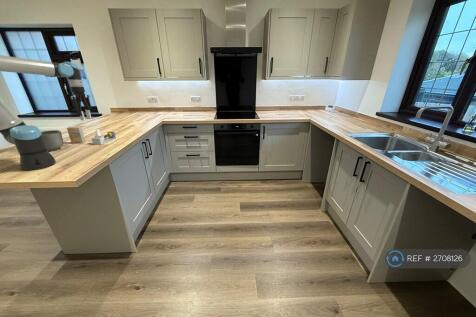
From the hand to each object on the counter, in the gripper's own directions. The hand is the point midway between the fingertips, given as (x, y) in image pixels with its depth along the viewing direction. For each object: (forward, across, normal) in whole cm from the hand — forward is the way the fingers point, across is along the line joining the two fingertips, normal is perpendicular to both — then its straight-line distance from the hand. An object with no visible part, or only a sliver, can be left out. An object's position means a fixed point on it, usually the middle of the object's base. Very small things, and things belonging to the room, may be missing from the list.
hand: (86, 119), depth 144 cm
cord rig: (+21, +12, 0) cm, 24 cm away
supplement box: (+21, +6, +19) cm, 29 cm away
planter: (+21, -12, +22) cm, 33 cm away
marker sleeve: (+19, +7, 0) cm, 21 cm away
